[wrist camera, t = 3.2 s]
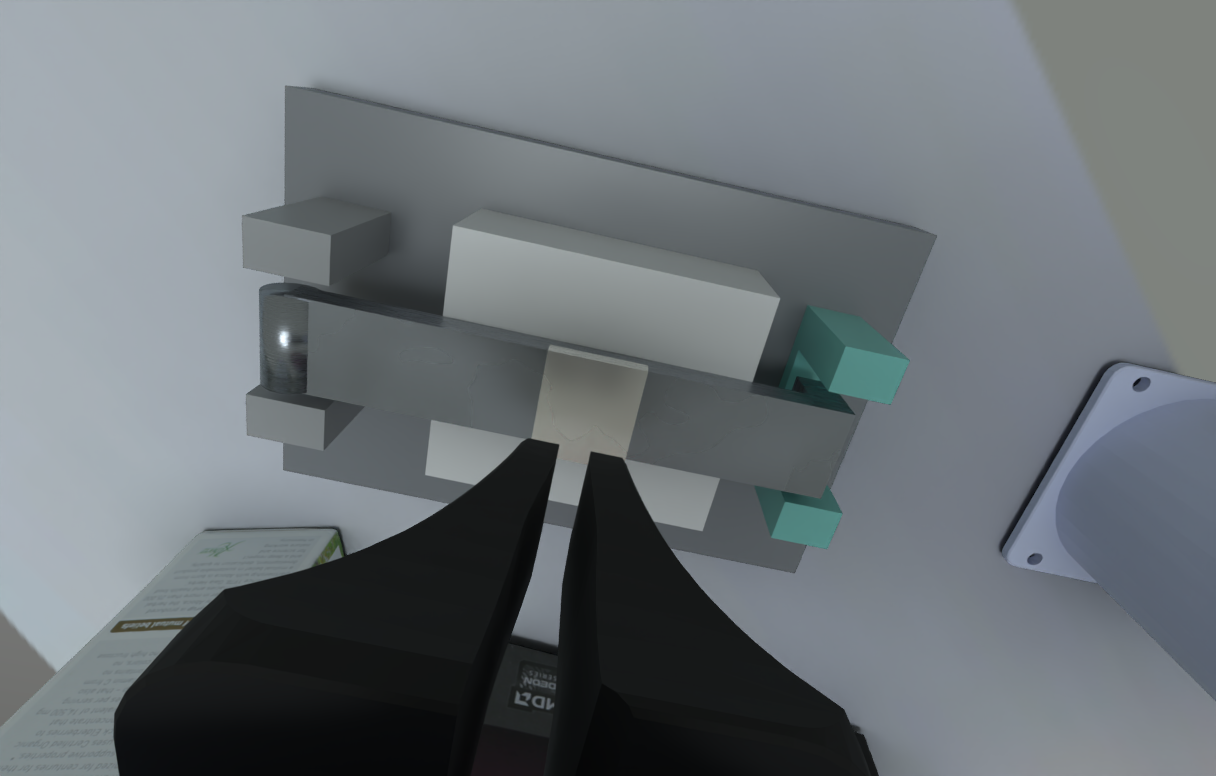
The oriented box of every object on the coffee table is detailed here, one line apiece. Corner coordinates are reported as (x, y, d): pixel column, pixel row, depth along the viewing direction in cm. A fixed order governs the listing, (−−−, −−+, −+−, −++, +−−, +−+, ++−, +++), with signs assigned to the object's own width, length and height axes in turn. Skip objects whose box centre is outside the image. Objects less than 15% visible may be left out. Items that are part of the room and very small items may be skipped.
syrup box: (197, 526, 24) (-342, 1028, 11) (345, 523, 24) (-23, 1038, 10) (239, 638, 26) (-164, 1169, 13) (375, 637, 26) (105, 1180, 13)
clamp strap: (833, 378, 17) (863, 417, 15) (799, 464, 18) (823, 511, 16) (295, 263, 16) (244, 285, 14) (294, 361, 17) (246, 396, 15)
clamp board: (914, 227, 19) (1013, 265, 14) (785, 546, 23) (824, 658, 18) (312, 88, 18) (190, 76, 13) (304, 448, 22) (213, 539, 18)
